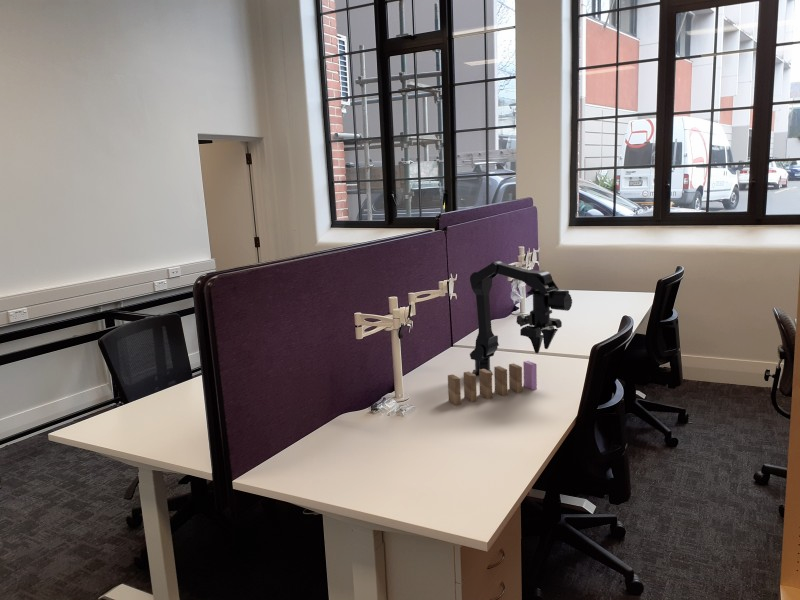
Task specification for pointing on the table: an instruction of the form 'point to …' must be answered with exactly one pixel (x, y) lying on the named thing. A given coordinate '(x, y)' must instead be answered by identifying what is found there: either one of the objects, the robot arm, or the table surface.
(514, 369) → the walnut domino
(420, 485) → the table surface
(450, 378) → the walnut domino
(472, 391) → the walnut domino
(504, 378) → the walnut domino
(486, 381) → the walnut domino
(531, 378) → the plum domino
